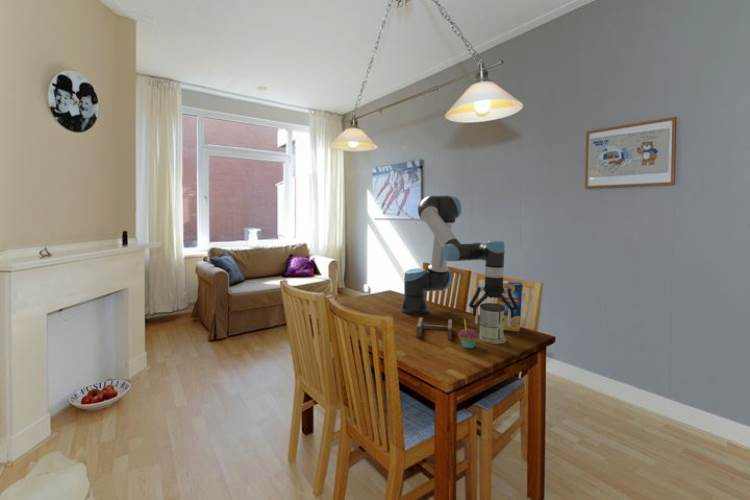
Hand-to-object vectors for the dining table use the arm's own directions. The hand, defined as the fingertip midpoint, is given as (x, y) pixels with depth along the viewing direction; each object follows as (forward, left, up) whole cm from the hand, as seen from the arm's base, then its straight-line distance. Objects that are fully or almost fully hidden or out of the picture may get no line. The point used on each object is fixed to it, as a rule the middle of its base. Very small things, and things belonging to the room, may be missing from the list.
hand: (492, 324), depth 158 cm
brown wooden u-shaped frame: (-2, -25, -7) cm, 26 cm away
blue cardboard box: (-17, +9, -7) cm, 20 cm away
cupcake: (+11, -10, -7) cm, 16 cm away
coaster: (0, 0, -7) cm, 7 cm away
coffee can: (0, 0, -6) cm, 6 cm away
